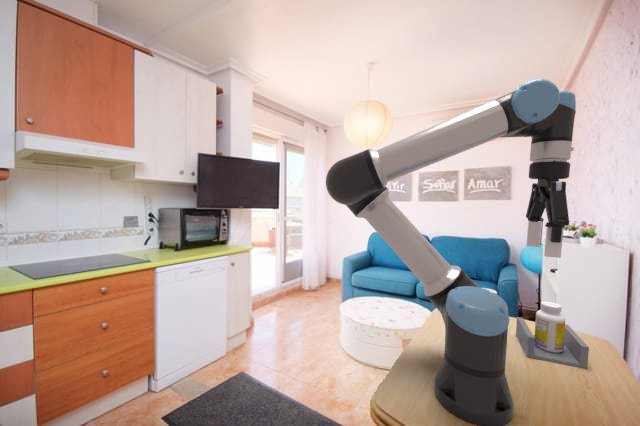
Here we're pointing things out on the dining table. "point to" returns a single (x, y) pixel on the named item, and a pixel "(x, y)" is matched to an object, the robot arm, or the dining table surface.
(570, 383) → the dining table surface
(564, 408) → the dining table surface
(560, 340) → the supplement bottle
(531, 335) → the u cradle
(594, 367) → the dining table surface
